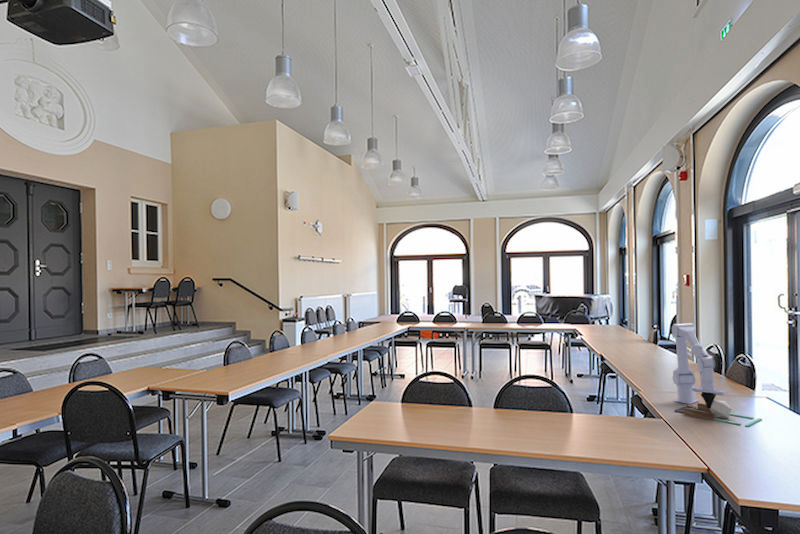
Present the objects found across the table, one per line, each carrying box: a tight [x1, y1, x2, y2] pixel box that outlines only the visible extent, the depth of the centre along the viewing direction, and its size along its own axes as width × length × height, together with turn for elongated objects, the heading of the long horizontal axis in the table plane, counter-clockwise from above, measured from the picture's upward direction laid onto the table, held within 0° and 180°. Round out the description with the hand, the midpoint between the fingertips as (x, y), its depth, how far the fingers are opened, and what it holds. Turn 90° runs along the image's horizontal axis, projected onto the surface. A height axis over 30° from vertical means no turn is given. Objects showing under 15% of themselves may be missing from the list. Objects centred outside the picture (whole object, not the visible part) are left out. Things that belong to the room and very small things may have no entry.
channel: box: [684, 402, 716, 421], centre depth 228 cm, size 15×13×3 cm
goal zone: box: [712, 412, 763, 428], centre depth 216 cm, size 15×14×1 cm
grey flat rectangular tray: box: [674, 404, 698, 414], centre depth 236 cm, size 12×5×1 cm, turn 122°
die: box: [710, 399, 733, 419], centre depth 222 cm, size 8×9×10 cm
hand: (709, 407), depth 226 cm, fingers closed
